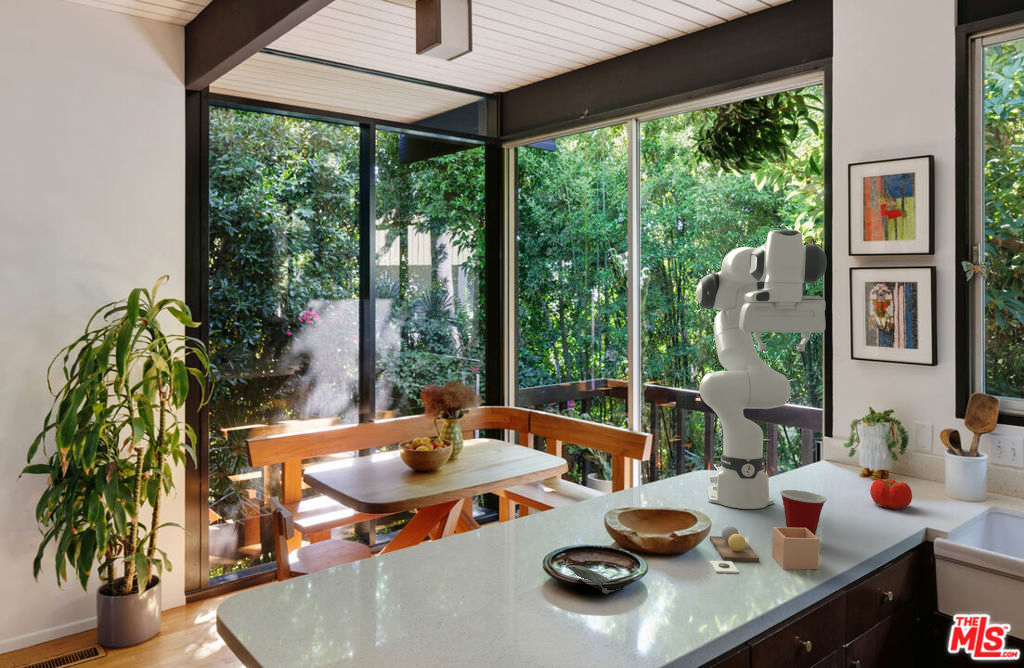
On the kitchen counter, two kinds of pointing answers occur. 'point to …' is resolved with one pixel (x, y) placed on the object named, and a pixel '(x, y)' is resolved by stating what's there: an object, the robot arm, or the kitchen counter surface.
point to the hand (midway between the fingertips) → (781, 351)
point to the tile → (724, 567)
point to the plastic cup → (802, 509)
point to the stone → (590, 576)
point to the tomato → (891, 493)
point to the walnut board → (731, 555)
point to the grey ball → (728, 532)
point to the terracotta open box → (795, 548)
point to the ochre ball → (737, 542)
